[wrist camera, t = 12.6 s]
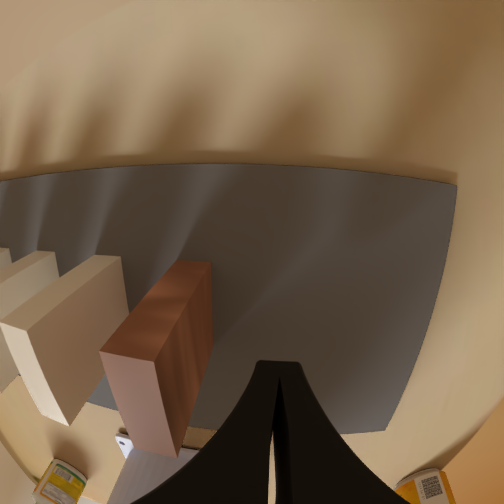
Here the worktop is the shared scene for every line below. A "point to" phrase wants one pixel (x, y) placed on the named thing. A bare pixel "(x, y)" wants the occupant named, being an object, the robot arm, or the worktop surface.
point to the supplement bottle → (59, 484)
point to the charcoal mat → (262, 267)
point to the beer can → (426, 488)
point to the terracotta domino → (162, 357)
